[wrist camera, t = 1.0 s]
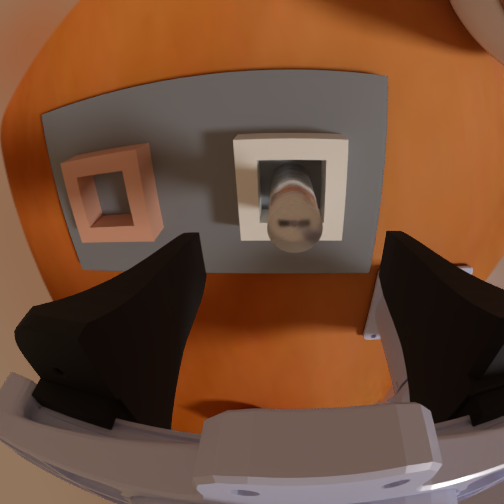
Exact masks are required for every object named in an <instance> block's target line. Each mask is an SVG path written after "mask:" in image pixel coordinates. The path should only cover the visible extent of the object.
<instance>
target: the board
mask: <svg viewBox="0 0 504 504" xmlns="http://www.w3.org/2000/svg"><path fill="white" fill-rule="evenodd" d="M387 110H388V76H383V75H375V74H366V73H356V72H344V71H329V70H254V71H238V72H226V73H215V74H206V75H198V76H191V77H184V78H178V79H172V80H166V81H160V82H155V83H150V84H145V85H140V86H136V87H131V88H127V89H123V90H119V91H115V92H111V93H107V94H103V95H100V96H96V97H93V98H89V99H86V100H83V101H80V102H76V103H73V104H70V105H67V106H64V107H62V108H59V109H56V110H53V111H50V112H48V113H45V114H42V122H43V128H44V133H45V139H46V144H47V149H48V154H49V159H50V163H51V168H52V172H53V176H54V180H55V184H56V188H57V192H58V196H59V199H60V203H61V206H62V210H63V213H64V216H65V220H66V223H67V226H68V229H69V232H70V235H71V238H72V241H73V244H74V247H75V250H76V253H77V255H78V258H79V261H80V263H81V266H82V269H83V270H104V271H127V270H128V269H130V268H132V267H133V266H135V265H136V264H138V263H139V262H141V261H142V260H144V259H145V258H147V257H148V256H150V255H151V254H153V253H154V252H156V251H157V250H159V249H160V248H161V247H163V246H164V245H166V244H167V243H168V242H170V241H171V240H173V239H174V238H176V237H177V236H179V235H181V234H183V233H189V232H199V235H200V241H201V247H202V253H203V259H204V264H205V270H206V273H256V274H326V273H369V272H370V267H371V261H372V256H373V250H374V244H375V238H376V231H377V224H378V217H379V210H380V202H381V194H382V184H383V175H384V163H385V151H386V135H387ZM253 133H333V134H342V135H343V136H345V137H346V138H347V139H348V140H349V141H348V166H347V184H346V198H345V211H344V223H343V233H342V241H320V240H319V241H318V242H317V243H316V244H315V245H314V246H313V247H312V248H310V249H309V250H306V251H304V252H299V253H290V252H286V251H283V250H281V249H279V248H278V247H276V246H275V245H274V244H273V243H272V242H271V241H241V235H240V223H239V211H238V198H237V186H236V173H235V160H234V147H233V139H234V138H235V137H236V136H237V135H238V134H253ZM142 143H149V146H150V153H151V159H152V165H153V171H154V177H155V183H156V189H157V194H158V200H159V205H160V210H161V215H162V220H163V225H164V228H163V230H162V231H161V232H160V234H159V235H158V237H157V238H156V239H155V241H152V242H93V243H82V240H81V237H80V234H79V231H78V228H77V225H76V222H75V218H74V215H73V211H72V208H71V204H70V201H69V197H68V193H67V190H66V186H65V182H64V178H63V173H62V169H61V165H60V163H62V162H64V161H66V160H68V159H70V158H72V157H74V156H76V155H81V154H85V153H90V152H95V151H100V150H106V149H111V148H117V147H123V146H129V145H136V144H142ZM259 163H260V184H261V206H262V209H269V202H270V192H271V181H272V176H273V173H274V171H275V170H276V169H277V168H278V167H279V166H281V165H283V164H286V163H295V164H299V165H301V166H302V167H303V168H305V169H306V171H307V172H308V174H309V177H310V180H311V184H312V187H313V191H314V194H315V198H316V201H317V205H318V209H320V199H321V166H322V160H259ZM93 177H94V182H95V186H96V190H97V194H98V199H99V203H100V206H101V210H102V214H103V216H104V215H120V214H131V210H130V205H129V201H128V196H127V192H126V187H125V182H124V177H123V172H122V171H117V172H110V173H103V174H96V175H93Z"/></svg>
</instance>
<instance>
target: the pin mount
mask: <svg viewBox="0 0 504 504" xmlns="http://www.w3.org/2000/svg"><path fill="white" fill-rule="evenodd" d="M348 141H349V140H348V139H347V138H346V137H345V136H343V135H342V134H333V133H253V134H238V135H237V136H236V137H235V138H234V139H233V147H234V160H235V173H236V186H237V198H238V211H239V223H240V235H241V241H271V240H270V238H269V236H268V232H267V223H268V213H269V209H262V206H261V184H260V163H259V160H322V166H321V199H320V209H319V212H320V216H321V220H322V224H323V231H322V235H321V238H320V239H319V240H320V241H342V233H343V223H344V211H345V198H346V184H347V166H348Z"/></svg>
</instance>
